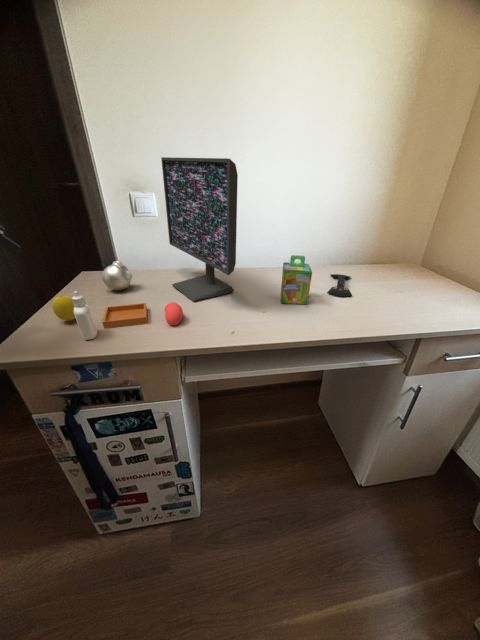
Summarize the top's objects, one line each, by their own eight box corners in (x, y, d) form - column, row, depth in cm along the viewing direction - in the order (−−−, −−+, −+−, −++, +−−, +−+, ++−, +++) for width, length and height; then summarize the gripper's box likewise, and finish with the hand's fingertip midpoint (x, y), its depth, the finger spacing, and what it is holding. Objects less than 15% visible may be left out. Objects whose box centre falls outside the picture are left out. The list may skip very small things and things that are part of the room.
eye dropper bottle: (104, 330, 76) (91, 288, 69) (91, 341, 71) (76, 297, 65) (89, 329, 76) (74, 287, 70) (75, 339, 72) (58, 295, 65)
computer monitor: (159, 276, 113) (139, 156, 91) (196, 270, 122) (185, 158, 100) (212, 317, 85) (201, 156, 63) (255, 305, 93) (259, 160, 71)
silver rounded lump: (136, 292, 99) (129, 263, 93) (106, 295, 95) (97, 266, 90) (133, 283, 106) (127, 256, 100) (106, 286, 102) (98, 259, 97)
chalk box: (280, 304, 95) (284, 259, 87) (280, 293, 103) (283, 252, 94) (308, 305, 95) (314, 261, 87) (305, 294, 102) (310, 253, 94)
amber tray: (104, 328, 77) (102, 322, 76) (107, 312, 85) (105, 306, 84) (147, 323, 80) (146, 317, 79) (147, 308, 88) (145, 302, 87)
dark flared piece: (351, 277, 121) (352, 269, 120) (352, 298, 101) (354, 289, 99) (329, 274, 123) (331, 266, 121) (326, 295, 103) (328, 286, 101)
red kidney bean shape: (188, 318, 87) (179, 298, 85) (184, 321, 78) (174, 299, 77) (173, 324, 87) (163, 305, 85) (167, 328, 78) (157, 307, 76)
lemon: (71, 326, 77) (61, 299, 73) (54, 324, 78) (42, 297, 73) (85, 318, 82) (77, 291, 77) (68, 315, 82) (59, 289, 78)
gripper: (-124, 178, 44) (-6, 252, 53) (-55, 174, 56) (33, 235, 64) (-138, 215, 47) (-23, 280, 55) (-69, 203, 58) (17, 259, 66)
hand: (7, 256), depth 59 cm, fingers open, 8 cm apart
